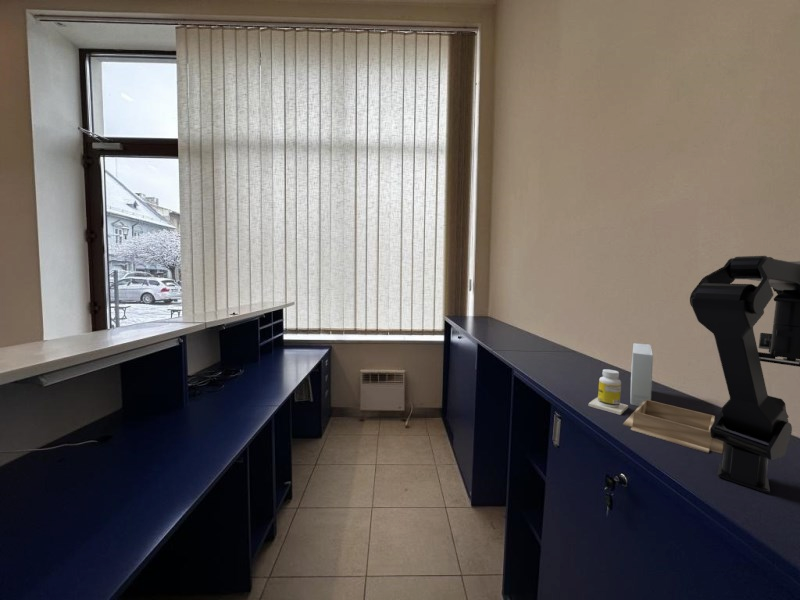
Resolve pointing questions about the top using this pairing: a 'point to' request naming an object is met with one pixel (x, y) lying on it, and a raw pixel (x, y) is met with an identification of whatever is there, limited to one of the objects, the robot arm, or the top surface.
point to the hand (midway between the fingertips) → (785, 403)
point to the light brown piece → (675, 425)
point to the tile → (615, 410)
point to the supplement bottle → (609, 388)
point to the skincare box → (641, 373)
